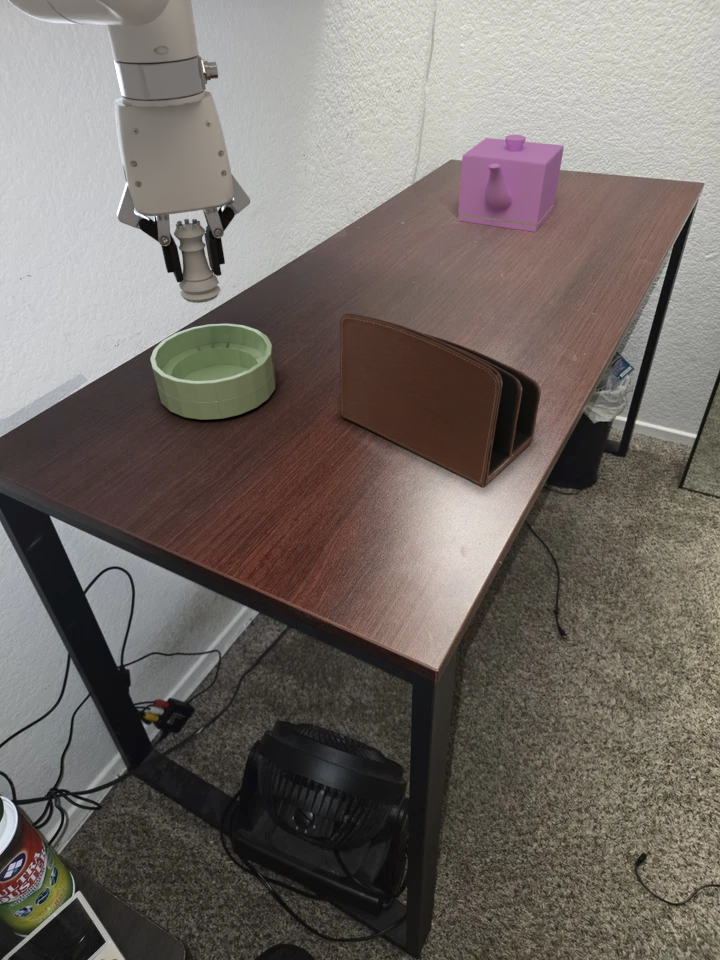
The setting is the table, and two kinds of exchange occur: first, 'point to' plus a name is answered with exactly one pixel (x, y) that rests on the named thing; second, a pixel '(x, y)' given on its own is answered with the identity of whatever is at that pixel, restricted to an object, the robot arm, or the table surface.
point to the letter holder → (435, 397)
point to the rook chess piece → (195, 264)
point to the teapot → (509, 182)
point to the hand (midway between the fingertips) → (196, 272)
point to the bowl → (214, 371)
